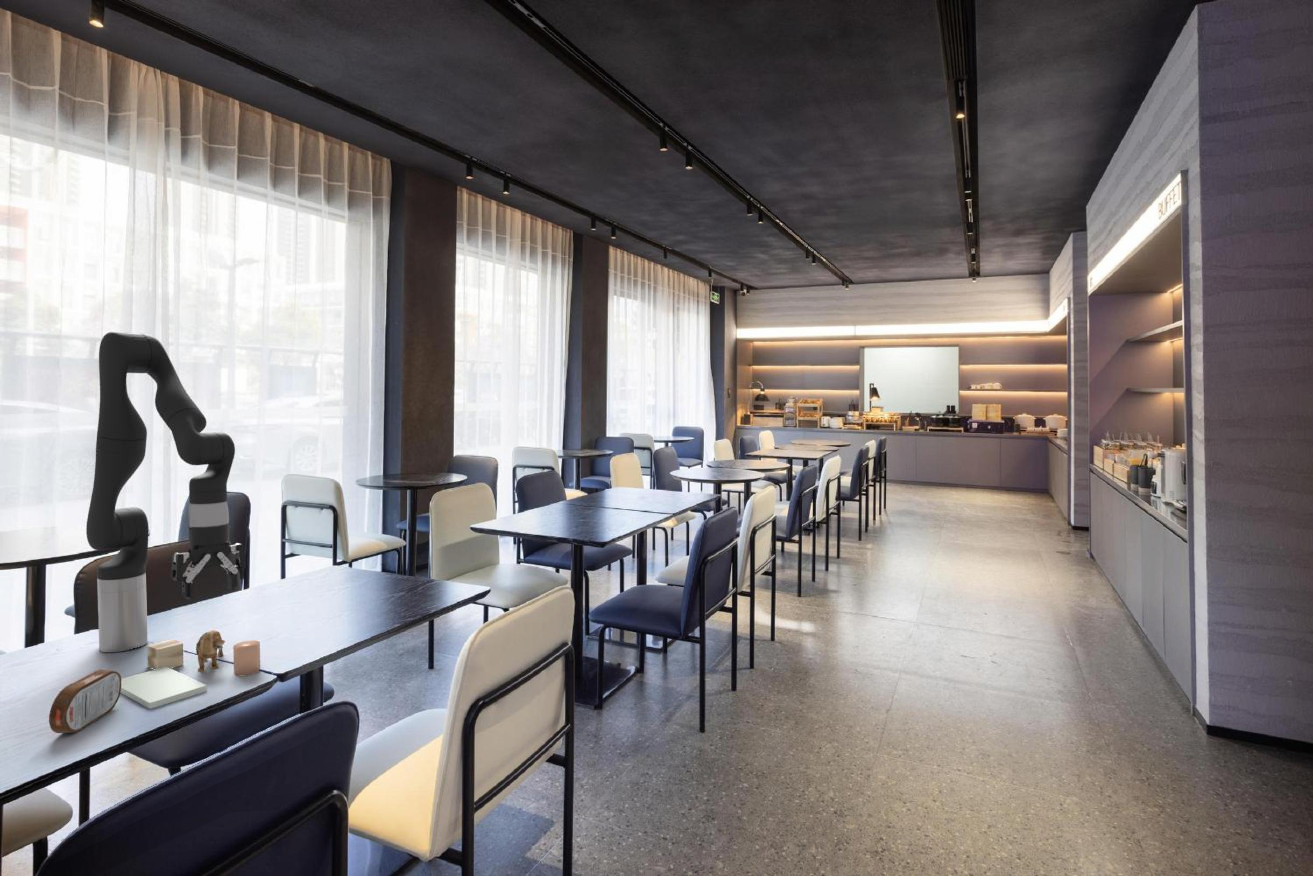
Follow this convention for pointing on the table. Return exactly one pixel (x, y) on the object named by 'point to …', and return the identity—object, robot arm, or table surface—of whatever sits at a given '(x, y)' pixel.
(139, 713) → the table surface
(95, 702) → the tin
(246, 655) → the peach rounded cylinder
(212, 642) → the lion figurine
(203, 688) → the sage board
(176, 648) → the birch block
